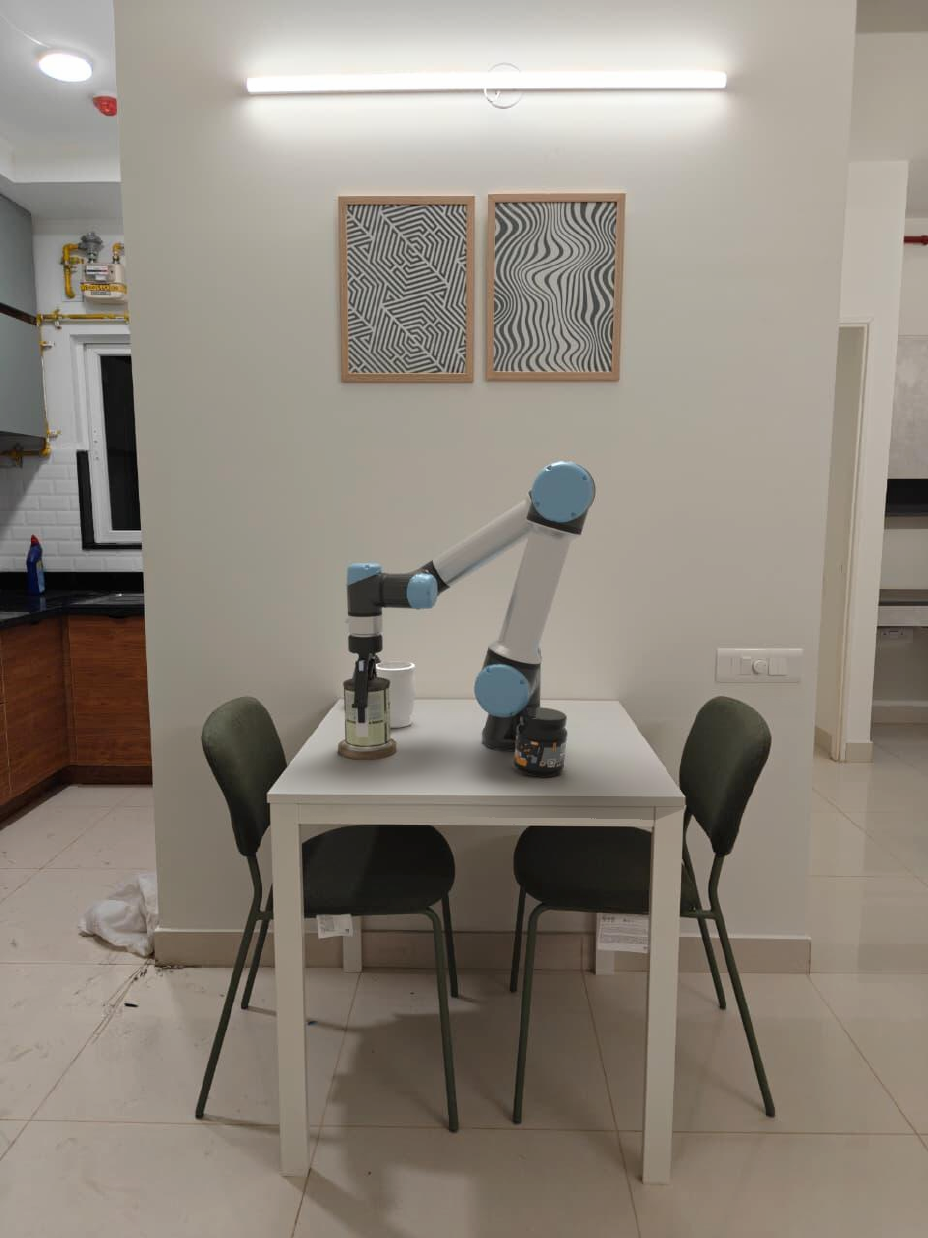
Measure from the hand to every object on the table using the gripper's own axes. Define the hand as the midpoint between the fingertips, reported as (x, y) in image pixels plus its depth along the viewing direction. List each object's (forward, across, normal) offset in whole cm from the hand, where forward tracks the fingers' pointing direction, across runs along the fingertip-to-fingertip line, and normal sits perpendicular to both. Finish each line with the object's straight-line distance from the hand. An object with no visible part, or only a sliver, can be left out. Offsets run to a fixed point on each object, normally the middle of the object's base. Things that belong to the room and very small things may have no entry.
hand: (367, 727), depth 182 cm
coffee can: (+4, 0, 0) cm, 4 cm away
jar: (+5, -22, +4) cm, 23 cm away
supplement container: (+5, +13, +37) cm, 40 cm away
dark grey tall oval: (+5, -38, -5) cm, 39 cm away
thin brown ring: (+5, 0, 0) cm, 5 cm away
